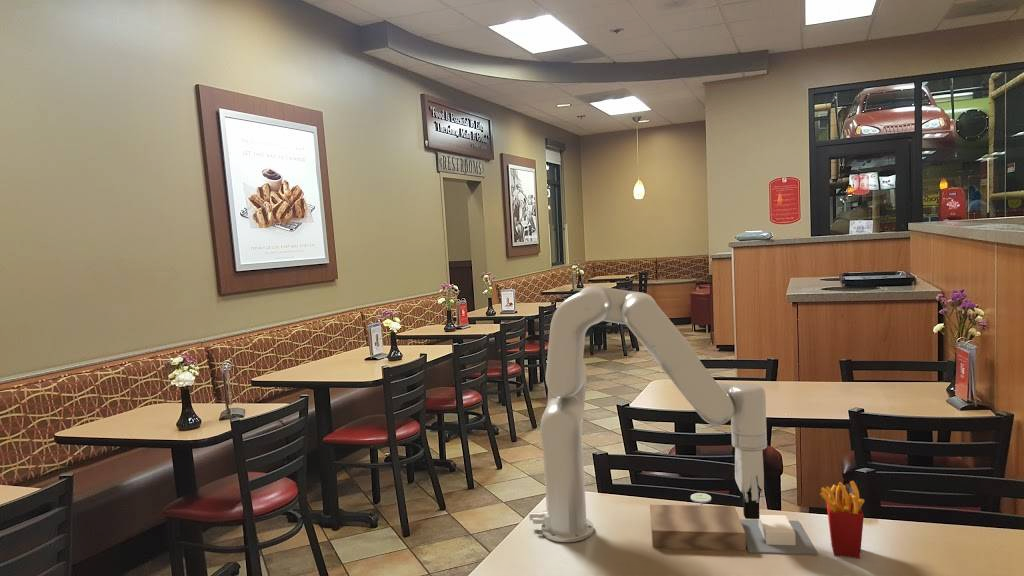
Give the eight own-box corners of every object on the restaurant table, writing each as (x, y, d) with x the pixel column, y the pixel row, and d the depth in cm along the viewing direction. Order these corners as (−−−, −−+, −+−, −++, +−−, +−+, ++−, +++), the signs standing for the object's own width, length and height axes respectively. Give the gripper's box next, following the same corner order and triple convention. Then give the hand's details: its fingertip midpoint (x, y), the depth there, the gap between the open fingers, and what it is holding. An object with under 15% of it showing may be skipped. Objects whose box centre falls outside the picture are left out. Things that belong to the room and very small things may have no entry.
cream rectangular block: (795, 532, 138) (795, 545, 139) (785, 515, 147) (785, 526, 147) (766, 532, 139) (766, 544, 140) (758, 514, 148) (758, 526, 148)
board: (652, 547, 142) (651, 530, 142) (650, 520, 156) (649, 504, 155) (745, 550, 138) (745, 532, 138) (735, 522, 152) (734, 506, 152)
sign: (690, 517, 155) (690, 492, 170) (690, 520, 156) (690, 495, 170) (712, 518, 154) (710, 493, 168) (712, 522, 154) (711, 496, 168)
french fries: (866, 561, 131) (864, 491, 130) (822, 556, 134) (820, 488, 133) (858, 541, 139) (857, 475, 138) (817, 537, 142) (815, 473, 141)
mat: (748, 552, 137) (748, 551, 137) (736, 520, 153) (736, 519, 153) (817, 554, 134) (817, 553, 134) (798, 521, 150) (798, 520, 150)
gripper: (726, 429, 151) (729, 503, 152) (737, 449, 136) (739, 531, 138) (759, 429, 150) (762, 504, 151) (773, 450, 135) (776, 532, 136)
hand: (751, 517), depth 144 cm, fingers closed
